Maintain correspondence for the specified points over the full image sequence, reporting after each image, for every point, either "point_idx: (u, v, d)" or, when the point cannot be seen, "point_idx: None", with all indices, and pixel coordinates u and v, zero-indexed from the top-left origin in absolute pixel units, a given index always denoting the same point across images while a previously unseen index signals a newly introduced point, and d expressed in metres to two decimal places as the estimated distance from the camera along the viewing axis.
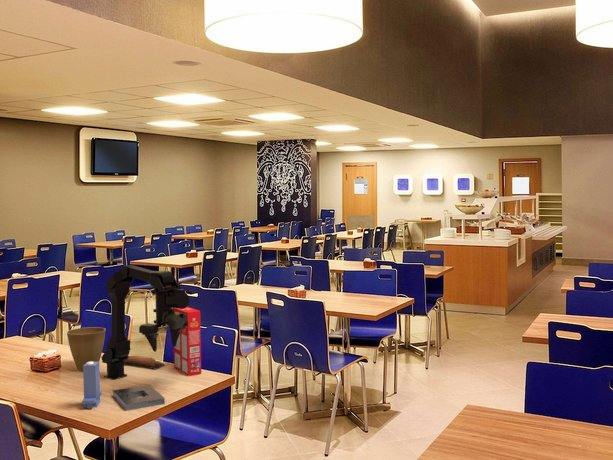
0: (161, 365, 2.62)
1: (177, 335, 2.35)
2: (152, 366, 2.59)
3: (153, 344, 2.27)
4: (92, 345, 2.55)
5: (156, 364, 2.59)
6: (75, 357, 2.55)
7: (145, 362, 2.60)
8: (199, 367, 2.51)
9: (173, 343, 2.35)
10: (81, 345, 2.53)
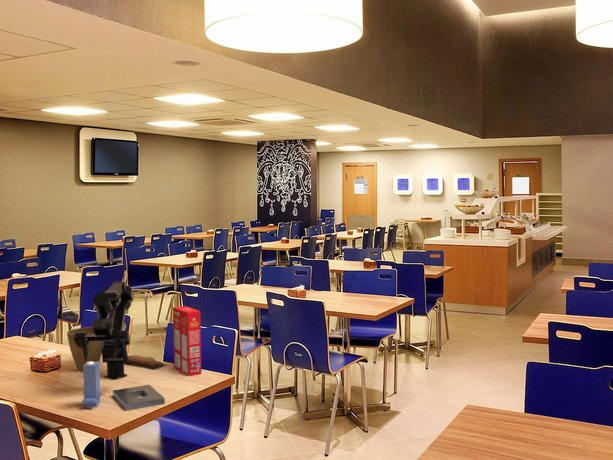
0: (161, 365, 2.62)
1: (115, 347, 2.25)
2: (152, 366, 2.59)
3: None
4: (92, 345, 2.55)
5: (156, 364, 2.59)
6: (75, 357, 2.55)
7: (145, 362, 2.61)
8: (199, 367, 2.51)
9: None
10: None
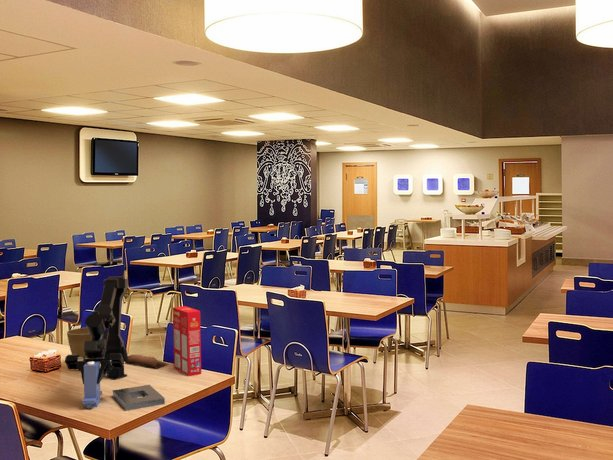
0: (163, 365, 2.63)
1: (100, 370, 2.16)
2: (153, 365, 2.59)
3: None
4: None
5: (158, 364, 2.60)
6: None
7: (147, 362, 2.61)
8: (199, 367, 2.51)
9: None
10: (81, 345, 2.53)
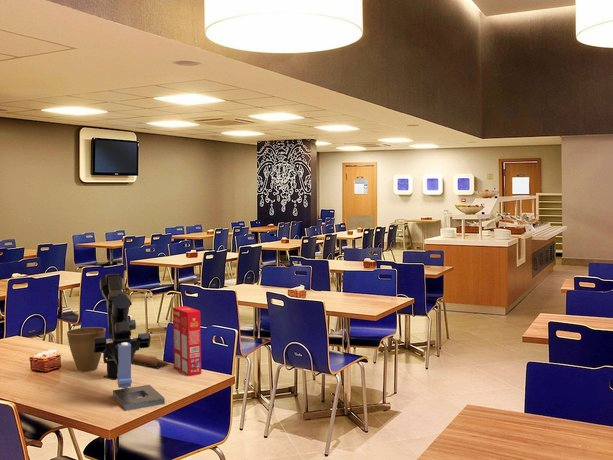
0: (164, 364, 2.63)
1: (132, 350, 2.19)
2: (155, 365, 2.60)
3: (114, 356, 2.16)
4: (92, 345, 2.55)
5: (159, 363, 2.60)
6: (75, 357, 2.55)
7: (148, 361, 2.62)
8: (199, 367, 2.51)
9: None
10: (81, 345, 2.53)
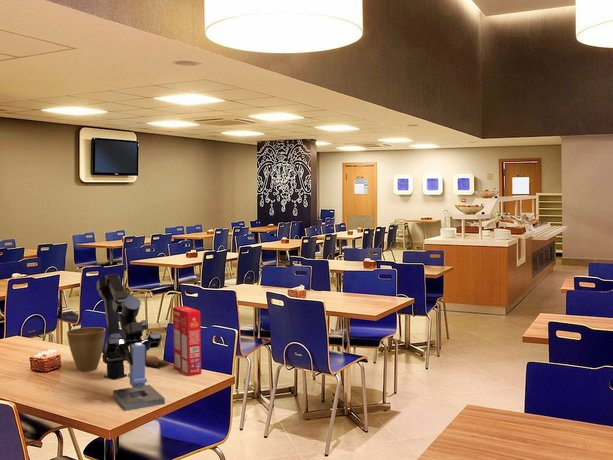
0: (165, 364, 2.64)
1: None
2: (156, 365, 2.60)
3: (127, 357, 2.18)
4: (92, 345, 2.55)
5: (160, 363, 2.61)
6: (75, 357, 2.55)
7: (149, 361, 2.62)
8: (199, 367, 2.51)
9: None
10: (81, 345, 2.53)
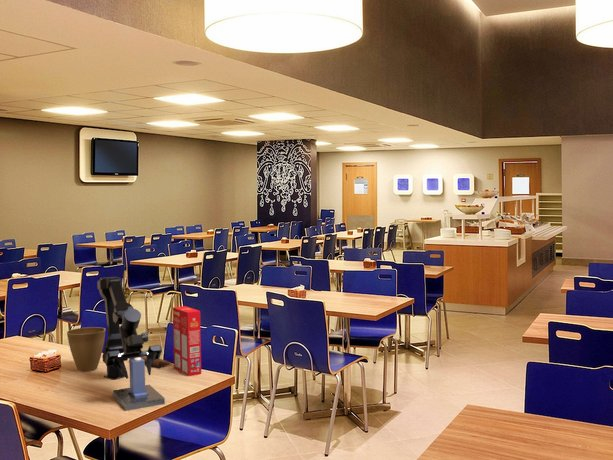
0: (166, 364, 2.64)
1: (149, 362, 2.22)
2: (156, 365, 2.61)
3: (123, 370, 2.17)
4: (92, 345, 2.55)
5: (160, 363, 2.61)
6: (75, 357, 2.55)
7: None
8: (199, 367, 2.51)
9: (148, 371, 2.21)
10: (81, 345, 2.53)
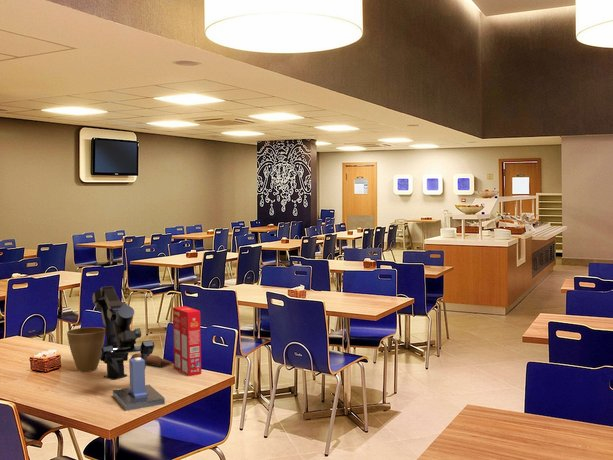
0: (167, 363, 2.65)
1: (144, 356, 2.30)
2: (158, 364, 2.61)
3: (114, 365, 2.25)
4: (92, 345, 2.55)
5: (162, 363, 2.62)
6: (75, 357, 2.55)
7: (152, 360, 2.63)
8: (199, 367, 2.51)
9: None
10: (81, 345, 2.53)
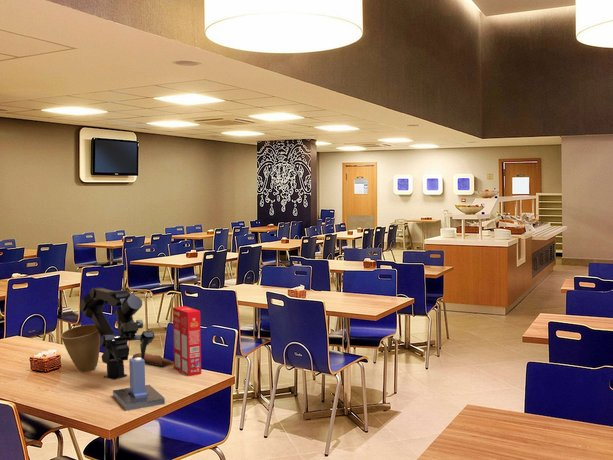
0: (168, 363, 2.65)
1: (144, 347, 2.36)
2: (159, 364, 2.62)
3: (114, 353, 2.31)
4: (90, 346, 2.53)
5: (163, 362, 2.62)
6: (74, 359, 2.54)
7: (153, 360, 2.64)
8: (199, 367, 2.51)
9: (142, 356, 2.35)
10: (78, 348, 2.52)
